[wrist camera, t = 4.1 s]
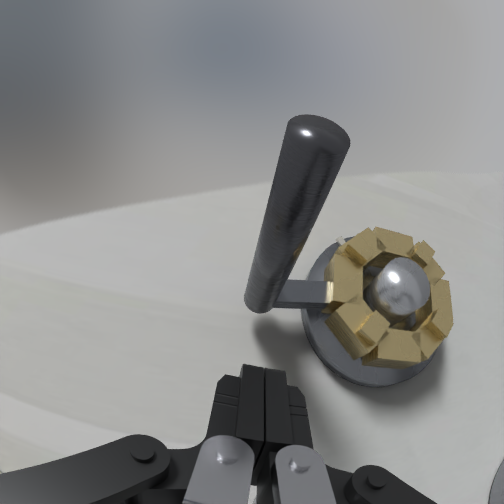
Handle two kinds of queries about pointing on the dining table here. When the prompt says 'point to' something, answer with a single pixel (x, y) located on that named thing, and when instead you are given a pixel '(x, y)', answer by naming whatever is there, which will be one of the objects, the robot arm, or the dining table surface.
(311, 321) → the flange
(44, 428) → the dining table surface
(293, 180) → the lever crank
